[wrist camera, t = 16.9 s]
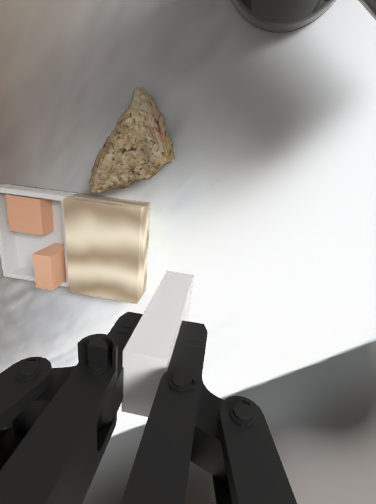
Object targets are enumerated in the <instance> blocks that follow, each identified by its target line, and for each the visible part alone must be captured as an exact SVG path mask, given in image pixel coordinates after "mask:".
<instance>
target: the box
mask: <svg viewBox="0 0 376 504" xmlns="http://www.w3.org/2000/svg"><path fill="white" fill-rule="evenodd" d="M5 194H14V195H22V196H29V197H37V198H44V199H52V209H53V224H54V231H53V232H50V233H48V234H46V235H43V236H42V235H35V234H29V233H23V232H17V231H10V229H9V221H8V213H7V205H6V197H5ZM77 194H78V193H72V192H64V191H56V190H49V189H41V188H33V187H26V186H18V185H11V184H3V185H0V256H1V263H2V269H3V276H5V277H11V278H17V279H23V280H29V281H35V273H34V264H33V255H32V254H33V253H35V252H37V251H39V250H41V249H43V248H45V247H47V246H49V245H51V244H53V243H55V242H56V243H62V244H64V251H65V266H66V281H65V282H63V283H62V284H61V285H59V286H64V287H69V284H68V268H67V251H66V235H65V219H64V202H63V198H66V197H70V196H74V195H77Z"/></svg>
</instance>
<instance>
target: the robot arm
mask: <svg viewBox="0 0 376 504" xmlns="http://www.w3.org/2000/svg"><path fill="white" fill-rule="evenodd" d="M335 1H336V0H232V2H233V4H234V6H235V7H236V9H237V10H238V12H239V13H240V14H241V15H242V16H243V17H244V18H245V19H246V20H247V21H248V22H249V23H251V24H252V25H254V26H256V27H258V28H260V29H263V30H266V31H271V32H286V31H292V30H295V29H298V28H301V27H303V26H305V25H307V24H309V23H311V22H313V21H314V20H316V19H317V18H318V17H320V16H321V15H322V14H323V13H324V12H326V11H327V10H328V9H329V8H330V7H331V6H332V4H333V3H334V2H335ZM359 2H360V3H361V4H362V5H363V6H364V7H365V8H366V10H367V11H368V12H369V13H370V14H371V15H372V16H373V18H374V19H375V20H376V0H359ZM193 277H194V275H190V274H183V273H177V272H171V271H167V272H166V274H165V276H164V277H163V279H162V281H161V283H160V285H159V286H158V288H157V290H156V292H155V294H154V295H153V297H152V299H151V301H150V303H149V305H148V306H147V308H146V310H145V312H144V314H138V313H133V312H127V313H125V314H124V315H122V316H121V317H119V319H118V320H117V322H116V323H115V325H114V326H113V327H112V329H111V330H110V332H109V333H108V335H106V334H94V335H90V336H87V337H85V338H83V339H82V340H81V341H80V342H78V360H79V363H78V364H77V366H73V367H64V368H52V367H51V363H50V361H48V360H47V359H46V358H42V357H30V358H26V359H23V360H21V361H19V362H17V363H15V364H13V365H12V366H11V367H9V368H8V369H6V370H5V371H3V372H2V373H0V504H82V503H83V501H84V499H85V496H86V494H87V491H88V489H89V487H90V485H91V482H92V480H93V477H94V475H95V473H96V470H97V468H98V466H99V463H100V461H101V459H102V456H103V454H104V452H105V449H106V447H107V445H108V442H109V440H110V438H111V435H112V433H113V430H114V428H115V425H116V421H117V411H118V409H119V407H120V404H121V402H122V411H123V412H128V413H132V414H137V415H142V416H146V417H148V420H147V423H146V426H145V430H144V433H143V436H142V439H141V442H140V445H139V449H138V451H137V455H136V458H135V461H134V464H133V467H132V470H131V473H130V477H129V480H128V483H127V486H126V489H125V492H124V496H123V499H122V502H121V504H184V503H185V495H186V488H187V481H188V473H189V466H190V461H192V462H193V463H195V464H196V465H198V466H200V467H201V468H203V469H204V470H206V471H207V472H208V473H209V481H210V488H211V495H212V503H213V504H297V503H296V500H295V497H294V494H293V492H292V489H291V486H290V484H289V481H288V478H287V476H286V473H285V470H284V468H283V465H282V462H281V460H280V457H279V455H278V452H277V449H276V447H275V444H274V441H273V438H272V436H271V433H270V431H269V428H268V425H267V423H266V420H265V417H264V415H263V413H262V411H261V409H260V408H259V407H258V406H257V405H256V404H255V403H254V402H253V401H251V400H249V399H247V398H245V397H241V396H232V397H228V398H227V399H225V400H222V399H220V398H218V397H217V396H215V395H213V394H212V393H211V392H209V391H208V390H207V389H206V387H205V385H204V384H203V381H202V370H203V362H204V355H205V347H206V340H207V330H206V328H205V326H204V324H200V323H194V322H188V318H189V310H190V302H191V294H192V285H193Z"/></svg>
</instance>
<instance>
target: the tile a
mask: <svg viewBox="0 0 376 504" xmlns="http://www.w3.org/2000/svg"><path fill="white" fill-rule="evenodd" d="M5 197H6V205H7V213H8V221H9V229H10V231H17V232H23V233H29V234H35V235H42V236H43V235H46V234H48V233H50V232H53V231H54V224H53V209H52V199H44V198H37V197H29V196H22V195H14V194H5Z"/></svg>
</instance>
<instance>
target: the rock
mask: <svg viewBox="0 0 376 504" xmlns="http://www.w3.org/2000/svg"><path fill="white" fill-rule="evenodd" d="M164 125H165V122H164V116H163V115H162V114H161V113H160V112H159V111H158V109H157V107H156V105H155V102H154V100H153V98H152V97H151V96H150V95H148V94H147V92H146V91H145V90H144V89H143V87H142V88H136V89H135V90H134V92H133V97H132V101H131V103H130V106H129V108H128V110H127V111H125V112H124V113H123V114H122V116H121V117H120V118H119V119H118V121H117V125H116V128H115V130H114V131H113V132H112V133H111V135H110V137H108V138H107V140H106V142H105V144H104V146H103V148H102V149H101V150H100V151H99V153H98V156H97V158H96V161H95V165H94V167H93V169H92V176H91V179H90V182H89V183H90V186H91V187H90V191H91V192H94V193H100V192H105V191H107V190H110V189H116V188H117V187H118V188H125V187H127V186H128V185H131V184H132V183H133V182H136V181H140V180H143V179H150V178H151V177H152V176H153V175H155V174H156V173H157V172H158V171H159V170H160V168H161V167H162V166H164V164H167V163H170V162H172V160H174V159H175V157H174V153H173V150H172V146H173V144H172V141H171V139H170V136H169V134H168V131H167V129H166V128H165V126H164ZM150 140H151V141H150Z"/></svg>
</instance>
